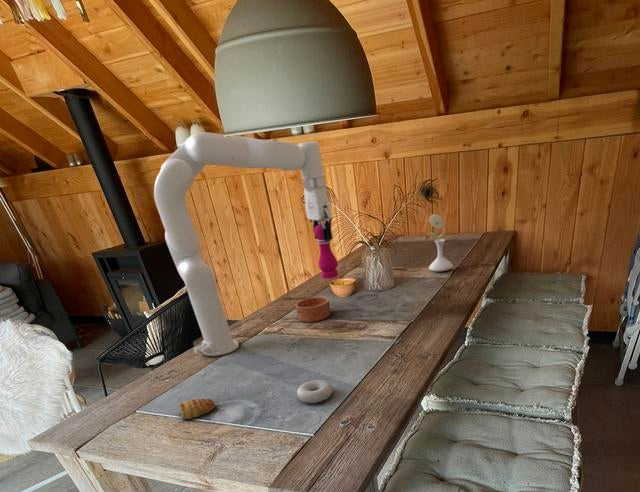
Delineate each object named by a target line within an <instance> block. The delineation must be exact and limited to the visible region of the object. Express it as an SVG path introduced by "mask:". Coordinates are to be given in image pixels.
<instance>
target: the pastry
mask: <svg viewBox="0 0 640 492" xmlns="http://www.w3.org/2000/svg"><path fill="white" fill-rule="evenodd" d="M215 407H216V403H215V401H214V400H213V399H211V398H197V399H190V400H184V401H183V403H178V409H179V411H180V414H181V416H180V417H181V419H185V420H190V419H192V418H198V417H200V416H202V415H203V416H204V415H205V414H208V413H209V412H211V411H212V410H214V409H215Z"/></svg>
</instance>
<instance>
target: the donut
mask: <svg viewBox="0 0 640 492" xmlns="http://www.w3.org/2000/svg"><path fill="white" fill-rule="evenodd" d="M332 394H333V385H332V384H331V383H330V382H328V381H327V380H323V379H313V380H308V381H306V382H303V383H302V384H301V385H299V387H298V388H297V391H296V396H297V398H298V400H300V401H301V402H302V403H306V404H317V403H318V404H319V403H321V402H324V401H326V400H327V399H329V398H330V397H331V396H332Z"/></svg>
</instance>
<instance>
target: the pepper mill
mask: <svg viewBox="0 0 640 492" xmlns="http://www.w3.org/2000/svg"><path fill="white" fill-rule="evenodd" d="M318 223H319V224H320V225H317V226H316V227H315V229H314V231H313V235H314V234H315V236H316V237H317V238H318V239H316V242H317V244H318V247H319V258H318V265H317V266H318V268H319V270H320V271H321V273H320V274H321V278H322V279H326V280H327V279H333V278H337V277H338V276H339V272H338V270H337V267H338V265H339V264H338V259H337V258H336V256H335V255H334V253H333V251H332V247H331V242H332V241H331V240H332V239H331V240H327V241H325V240H324V236H323V231H322V229H323V226H322V223H321V220H320V221H318ZM315 236H314V237H315Z"/></svg>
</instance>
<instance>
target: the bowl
mask: <svg viewBox="0 0 640 492" xmlns="http://www.w3.org/2000/svg"><path fill="white" fill-rule="evenodd" d="M294 306H295V311H296V314H297V318H298V320H299V321H301V322H305V323H314V322H319V321H322V320H324V319H326V318H328V317H329V316H330V315H331V314H332V312H331V305H330V301H329V298H327V297H326V296H325V297H324V296H314V297H308V298H307V297H306V298H304V299H301V300H298V301H297V302H296V303H295V304H294Z"/></svg>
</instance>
